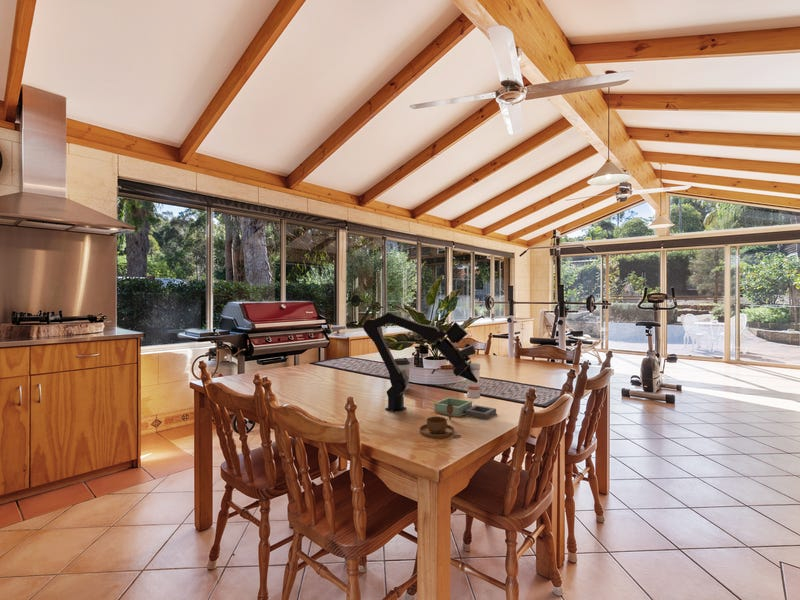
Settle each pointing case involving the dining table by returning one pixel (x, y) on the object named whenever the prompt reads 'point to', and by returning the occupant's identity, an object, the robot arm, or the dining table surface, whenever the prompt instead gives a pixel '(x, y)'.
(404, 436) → the dining table surface
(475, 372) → the fuse
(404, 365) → the coffee cup
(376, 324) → the robot arm
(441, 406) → the parts tray
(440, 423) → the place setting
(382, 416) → the dining table surface
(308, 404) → the dining table surface
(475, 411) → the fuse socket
